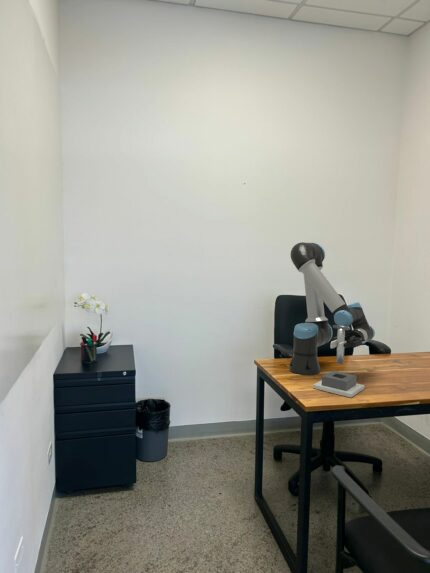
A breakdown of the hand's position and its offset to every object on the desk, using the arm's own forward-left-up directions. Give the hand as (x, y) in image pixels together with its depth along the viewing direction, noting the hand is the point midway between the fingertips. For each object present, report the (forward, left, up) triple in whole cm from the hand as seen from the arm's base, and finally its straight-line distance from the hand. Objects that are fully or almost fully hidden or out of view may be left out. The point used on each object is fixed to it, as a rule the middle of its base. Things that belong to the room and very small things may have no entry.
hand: (335, 345), depth 170 cm
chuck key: (0, +5, -8) cm, 10 cm away
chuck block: (0, +6, -20) cm, 21 cm away
